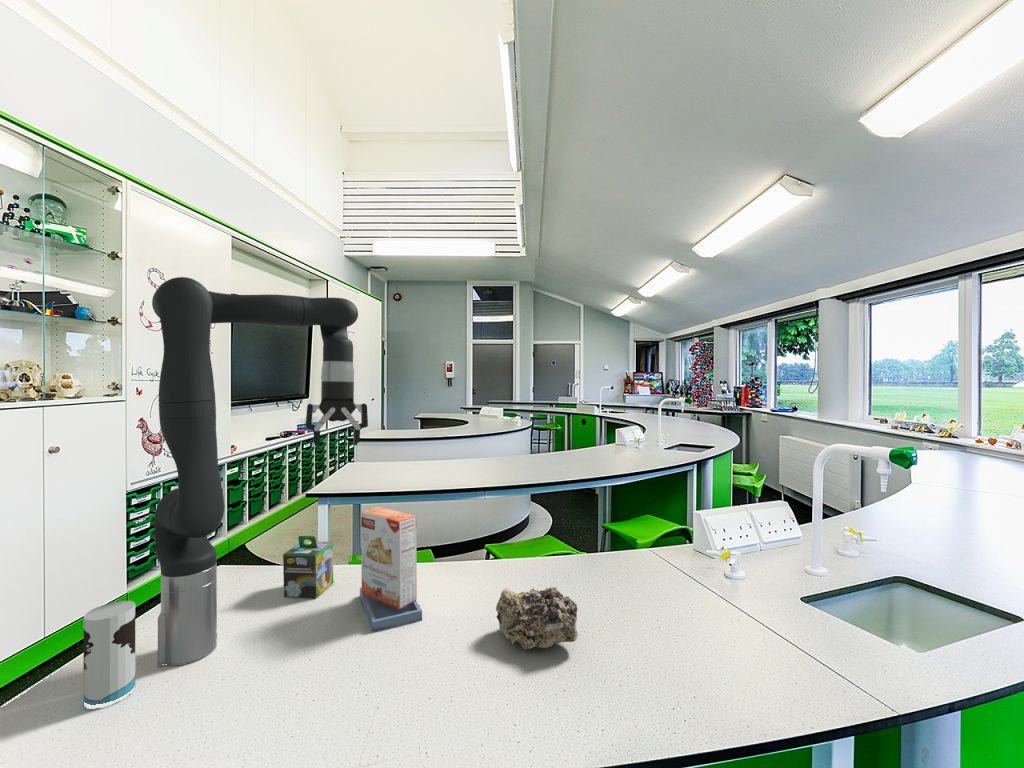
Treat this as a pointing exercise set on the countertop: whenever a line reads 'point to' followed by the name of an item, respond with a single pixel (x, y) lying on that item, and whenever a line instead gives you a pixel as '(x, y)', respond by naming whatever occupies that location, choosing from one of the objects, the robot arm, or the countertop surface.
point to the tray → (389, 613)
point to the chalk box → (308, 568)
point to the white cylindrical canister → (109, 652)
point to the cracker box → (389, 556)
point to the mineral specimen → (537, 617)
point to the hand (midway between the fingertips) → (337, 445)
